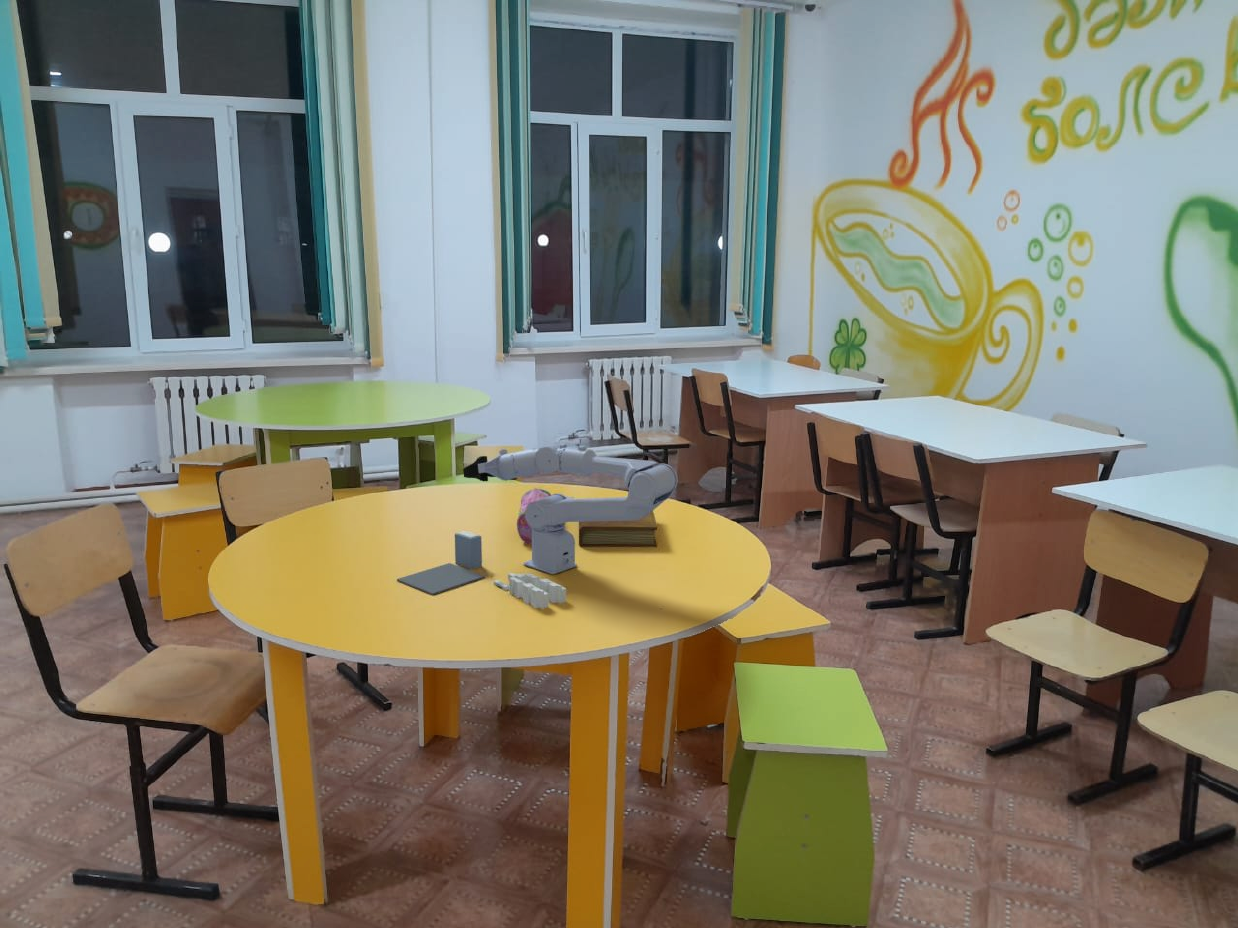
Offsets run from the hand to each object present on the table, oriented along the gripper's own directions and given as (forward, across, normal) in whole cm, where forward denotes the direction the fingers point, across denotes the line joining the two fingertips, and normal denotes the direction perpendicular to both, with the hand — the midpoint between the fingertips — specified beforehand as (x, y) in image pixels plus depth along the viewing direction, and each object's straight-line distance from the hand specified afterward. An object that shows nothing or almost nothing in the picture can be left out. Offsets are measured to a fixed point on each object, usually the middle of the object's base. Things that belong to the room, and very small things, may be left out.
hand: (476, 472), depth 208 cm
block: (0, +6, +21) cm, 22 cm away
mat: (-2, +16, +23) cm, 28 cm away
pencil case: (+2, -22, +15) cm, 27 cm away
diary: (-14, -33, +19) cm, 41 cm away
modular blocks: (-20, +12, +28) cm, 37 cm away
